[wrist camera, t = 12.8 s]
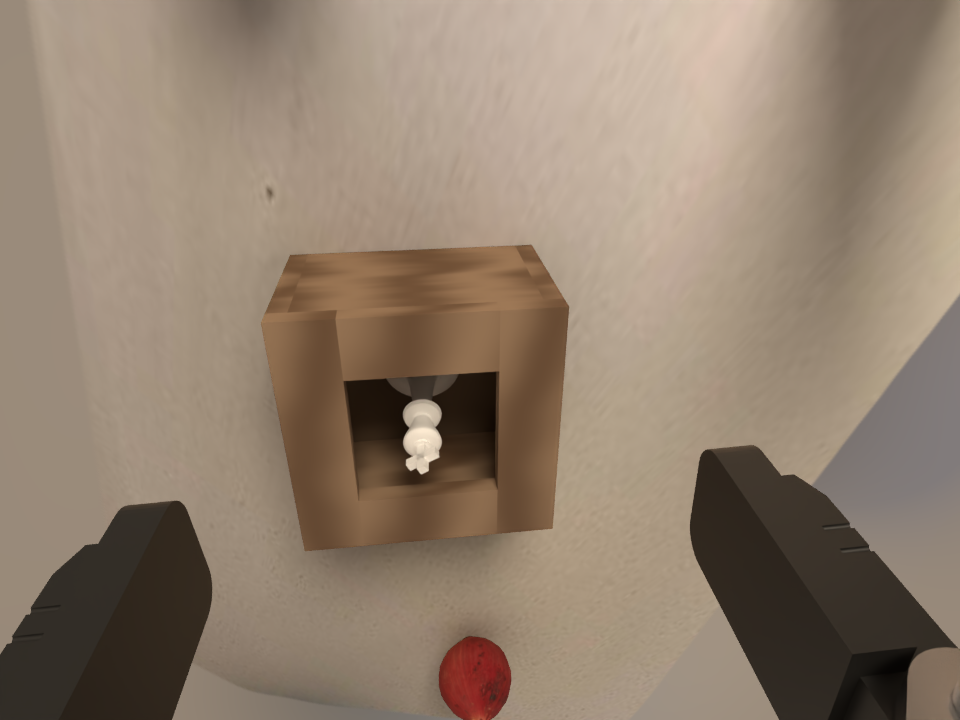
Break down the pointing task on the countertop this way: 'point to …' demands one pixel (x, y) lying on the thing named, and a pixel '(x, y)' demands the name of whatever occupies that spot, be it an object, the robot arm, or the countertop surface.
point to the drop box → (379, 407)
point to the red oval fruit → (475, 679)
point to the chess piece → (422, 417)
